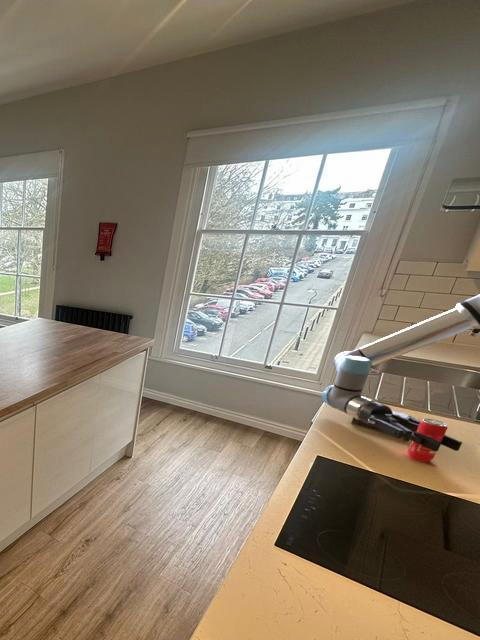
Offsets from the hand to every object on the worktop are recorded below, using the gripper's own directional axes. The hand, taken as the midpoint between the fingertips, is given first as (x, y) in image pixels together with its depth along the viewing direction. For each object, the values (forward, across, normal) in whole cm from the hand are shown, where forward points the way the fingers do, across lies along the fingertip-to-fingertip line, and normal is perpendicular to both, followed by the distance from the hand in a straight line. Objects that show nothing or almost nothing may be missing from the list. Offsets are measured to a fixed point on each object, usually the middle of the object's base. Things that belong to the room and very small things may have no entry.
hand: (448, 446), depth 111 cm
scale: (-27, -10, -7) cm, 30 cm away
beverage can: (-5, 0, -7) cm, 9 cm away
